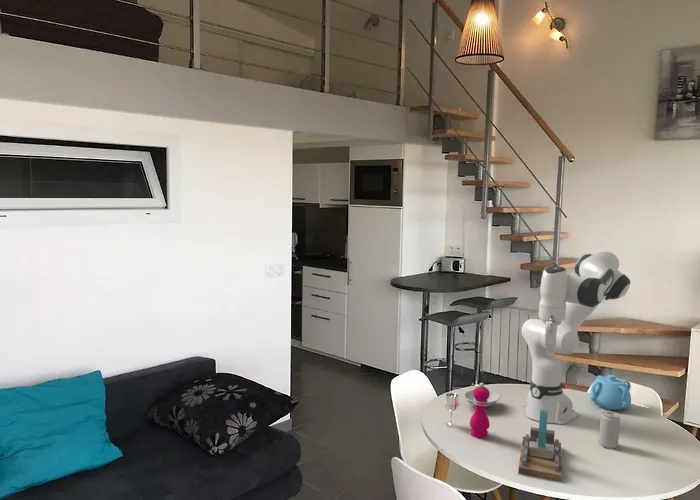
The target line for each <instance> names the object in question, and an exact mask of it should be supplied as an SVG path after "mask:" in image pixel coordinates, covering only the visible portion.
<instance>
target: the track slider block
mask: <svg viewBox="0 0 700 500" xmlns="http://www.w3.org/2000/svg"><path fill="white" fill-rule="evenodd" d="M547 416H548V411H545V410H540V421H538V422H539V423H538V428H539V436H538V442H534V441H529V452H528V455H530V456H536V457H541V458H547V459H553V458H554V445H552V444H546V430H548V429H547V427H548V423H547Z"/></svg>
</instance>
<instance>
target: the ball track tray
mask: <svg viewBox="0 0 700 500" xmlns="http://www.w3.org/2000/svg"><path fill="white" fill-rule="evenodd" d="M538 436H539V427H533V426H530V433H529V434H525V436H522V442H521V448H520V449H521V450H520V457H519V463H518V475H519V474H520V475H525V476H529V477H535V478H541V479H546V480H552V481H557V482H562V442H560V440H559V439H558V438H555V430H554V429H553V430H551V429H547V430H546V444H552V445H554V458H553V459H547V458H541V457H536V456H530V455H528V452H529V441H534V442H538Z"/></svg>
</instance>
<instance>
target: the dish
mask: <svg viewBox="0 0 700 500" xmlns="http://www.w3.org/2000/svg"><path fill="white" fill-rule="evenodd" d="M488 390H489V393H490V396H489V398H488V399H487V400H488V404H487V405H486V408H488V407H492V406H493V405H494V404H496V402H498V401H499V400H500V399H501V394H500V393H498V392H497V391H494V390H490V389H488ZM473 391H474V389H470V390H466V391H465V392H463V395H462V397H463V398H464V399H465V400H466V401H467V402H468V404H470V405H471V406H474V407H475V403H474V399H475V397H474V396H473Z"/></svg>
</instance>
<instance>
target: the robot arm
mask: <svg viewBox="0 0 700 500" xmlns="http://www.w3.org/2000/svg"><path fill="white" fill-rule="evenodd" d="M619 268H620V261H619V258H618V257H617V255H616V254H615V253H612V252H610V251H600V252H597V253H594V254H592V253H586V254H584V255H582V256H581V257H580V258H579V259H577V261H576V263H575V266H574V273H575V274H576V275H570V274H568V272H567V268H565V267H563V266H560V265H559V266H558V265H557V266H556V265H554V266H547V267H546V268H545V267H544V269H543V271H542V276H541V281H540V290H539V293H540V300H539V304H538V318H529V319H526V321H525V322H524V323H523V324H522V327H521V336H522V338H523V340H524V341H525V342H526V343H527V344H526V345H527V346H528V349H529V352H530V357H531V361H532V362H531V363H532V364H531V365H532V367H531V368H532V369H531V370H532V371H531V380H530V383H529V389H530V390H529V391H528V395H527V398H526V399H527V400H526V405H525V406H524V408H523V410H524V411H525V414H524V415H525V416H526V417H527V418H529V419H531V420H534V421H536V422H539V421H540V410H545V411H548V416H547V424H548V423H549V424H557V425H565V424H566V423H568V422H570V421H572V420H573V419H575V418H577V417H578V416H579V413H578V411H576V410H575V409H574V408H573V405H574V404H573V401H572V399H571V398H569V397H568V395H566V394H565V393H564V390H566V389H567V388H568V385H567V383H564V382H562V383H561V380H562V365H561V362H560V361H559V360H558V358H557V357H556V354H561V355H571V354H573V353H575V351H576V350H577V349H578V347H579V344H580V338H579V335H578V331H579V328H580V326H582V324H583V323H584V322H585V321H586V320H587V319H588V318H589V316H591V314H592V313H593V312H594V311H595V310H596V309H597V307H598V306H599V304H601V302H602V301H603V298H604V300H605V301H608V300H617V299H619V298H621V297H623V296H625V295H626V294H627V292H628V291H629V289H630V286H631V280H630V278H629V277H628V276H627V275H626V274H625V273H624V274H623V273H622V272H621V271H620V270H619ZM555 353H556V354H555ZM563 389H564V390H563Z"/></svg>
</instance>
